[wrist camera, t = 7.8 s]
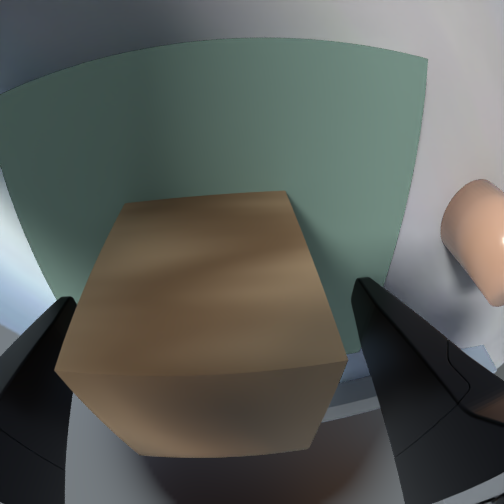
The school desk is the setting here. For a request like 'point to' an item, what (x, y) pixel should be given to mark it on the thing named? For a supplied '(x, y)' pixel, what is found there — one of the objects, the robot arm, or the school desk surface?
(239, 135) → the mat
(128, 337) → the walnut block
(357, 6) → the school desk surface
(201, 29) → the school desk surface
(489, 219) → the peach rounded cylinder
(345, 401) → the gray rectangular block
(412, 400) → the robot arm
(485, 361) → the eraser block
